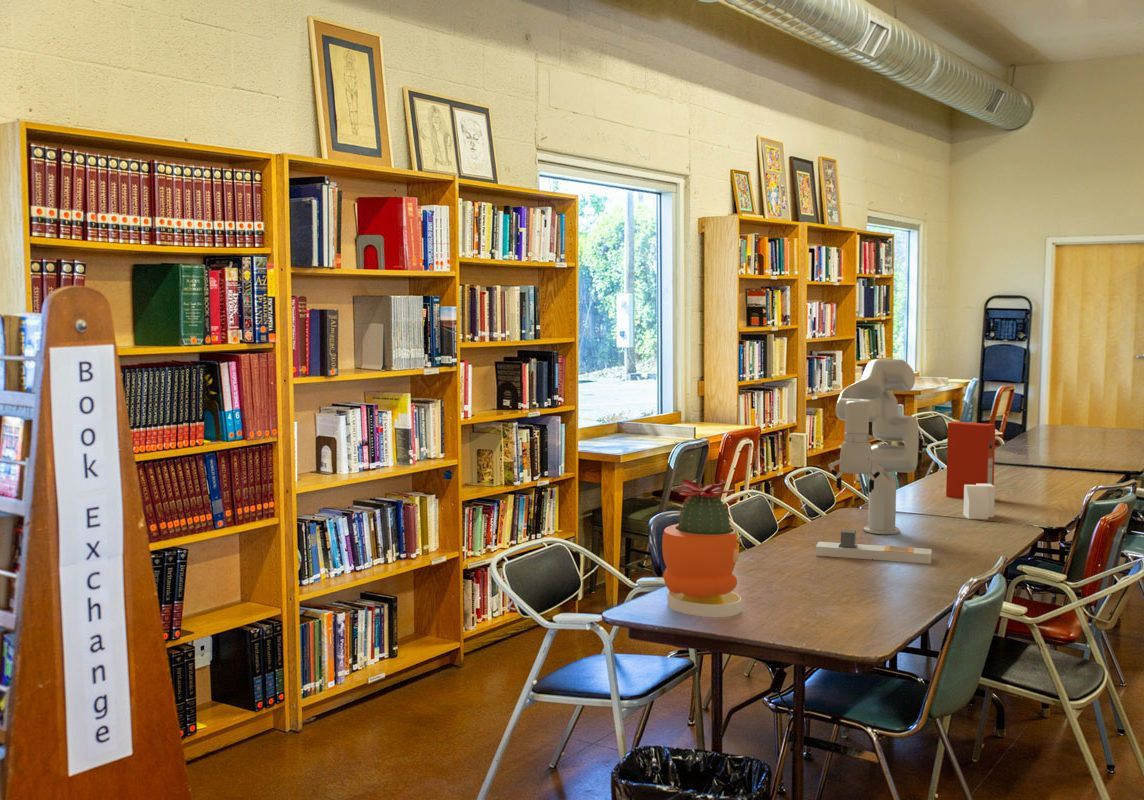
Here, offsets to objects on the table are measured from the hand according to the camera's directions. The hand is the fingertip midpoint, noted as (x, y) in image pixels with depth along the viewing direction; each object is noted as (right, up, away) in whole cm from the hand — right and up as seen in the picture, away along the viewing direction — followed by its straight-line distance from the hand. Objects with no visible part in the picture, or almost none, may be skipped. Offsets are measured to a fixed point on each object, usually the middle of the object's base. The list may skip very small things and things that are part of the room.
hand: (855, 491), depth 354 cm
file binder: (+78, -12, +110) cm, 135 cm away
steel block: (-1, -21, +4) cm, 22 cm away
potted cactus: (-58, -27, -60) cm, 88 cm away
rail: (+6, -22, +1) cm, 22 cm away
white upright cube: (+66, -16, +70) cm, 98 cm away
